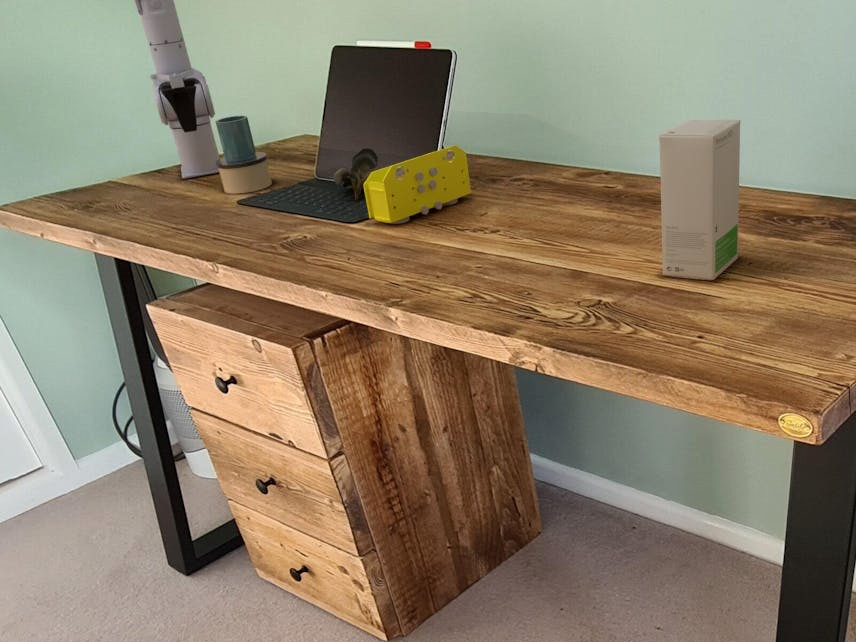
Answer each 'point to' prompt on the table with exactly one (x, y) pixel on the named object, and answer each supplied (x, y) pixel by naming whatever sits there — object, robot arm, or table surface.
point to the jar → (244, 174)
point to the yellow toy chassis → (417, 185)
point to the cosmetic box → (700, 197)
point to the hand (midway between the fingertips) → (190, 128)
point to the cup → (236, 138)
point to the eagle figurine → (357, 171)
